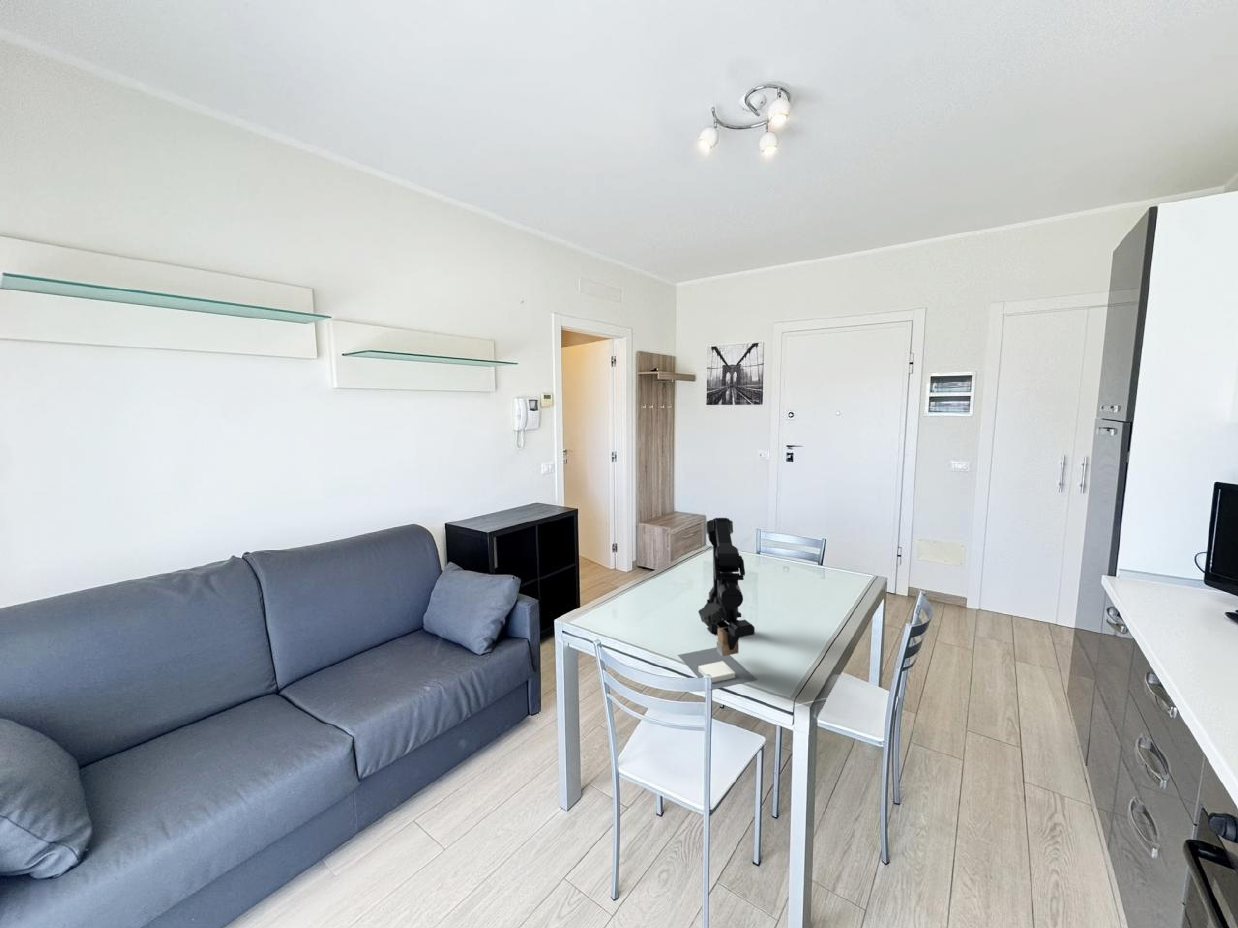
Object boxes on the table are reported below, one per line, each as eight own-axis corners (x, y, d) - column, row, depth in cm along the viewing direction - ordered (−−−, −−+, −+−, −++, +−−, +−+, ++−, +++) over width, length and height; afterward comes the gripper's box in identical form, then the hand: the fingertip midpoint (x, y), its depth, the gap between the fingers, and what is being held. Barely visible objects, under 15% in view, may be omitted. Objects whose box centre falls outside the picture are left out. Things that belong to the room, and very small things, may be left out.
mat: (720, 647, 160) (720, 646, 160) (757, 680, 140) (757, 679, 140) (677, 656, 155) (677, 654, 155) (709, 691, 135) (709, 690, 135)
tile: (722, 661, 147) (698, 666, 145) (735, 672, 141) (709, 677, 138) (722, 665, 148) (698, 671, 145) (735, 677, 141) (709, 683, 139)
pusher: (733, 648, 146) (732, 625, 145) (738, 653, 143) (738, 629, 142) (716, 651, 144) (716, 628, 143) (722, 656, 141) (721, 632, 141)
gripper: (687, 587, 148) (688, 637, 150) (718, 611, 131) (719, 667, 132) (721, 582, 152) (721, 631, 153) (755, 604, 134) (755, 660, 136)
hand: (728, 646), depth 143 cm, fingers closed on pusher, 3 cm apart
